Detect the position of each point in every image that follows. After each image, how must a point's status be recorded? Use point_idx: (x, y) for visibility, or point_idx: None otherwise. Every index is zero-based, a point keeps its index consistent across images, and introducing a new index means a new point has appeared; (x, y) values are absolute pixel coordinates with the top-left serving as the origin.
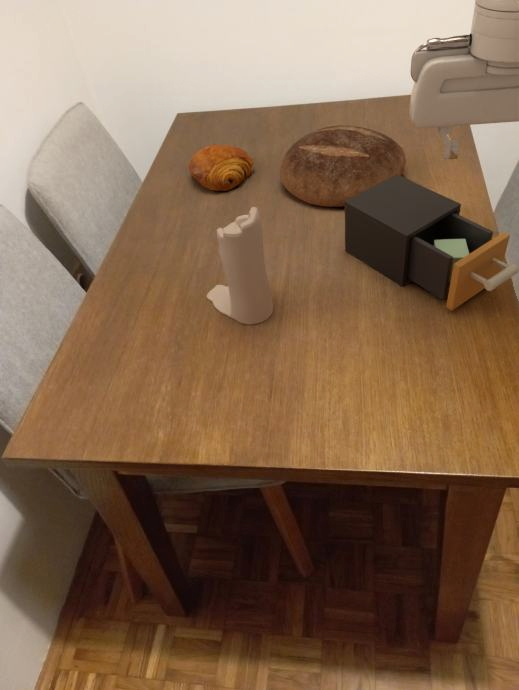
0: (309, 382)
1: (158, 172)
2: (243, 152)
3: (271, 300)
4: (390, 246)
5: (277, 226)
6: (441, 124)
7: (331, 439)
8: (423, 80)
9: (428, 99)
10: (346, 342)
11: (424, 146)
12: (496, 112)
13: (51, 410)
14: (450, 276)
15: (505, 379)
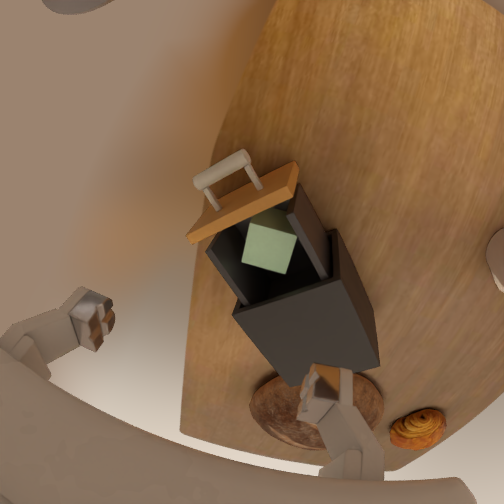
0: (495, 113)
1: (454, 430)
2: (396, 441)
3: (497, 248)
4: (350, 281)
5: (416, 361)
6: (397, 490)
7: (488, 32)
8: None
9: None
10: (442, 156)
11: (221, 404)
12: (163, 488)
13: None
14: (278, 213)
15: (269, 36)
